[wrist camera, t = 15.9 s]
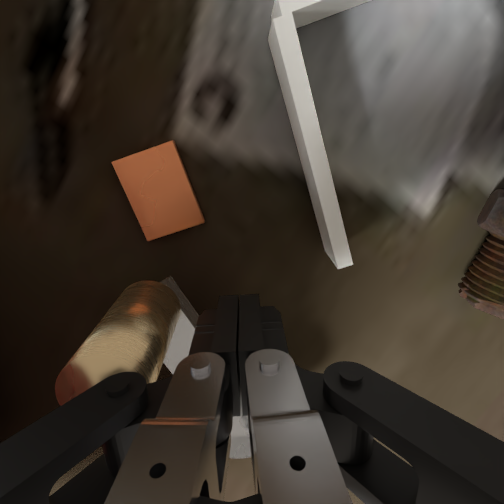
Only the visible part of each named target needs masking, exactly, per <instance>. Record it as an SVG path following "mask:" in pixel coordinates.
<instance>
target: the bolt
mask: <svg viewBox="0 0 504 504" xmlns="http://www.w3.org/2000/svg"><path fill="white" fill-rule="evenodd" d="M477 222H478V225H479V227H481V228H483V229H485V230H487V231H489V232H490V234H491V236H488V237H485V238H486V239H487V241H488V242H485V243H482V245H483V246H484V248H481V249H478V250H479V251H480V252H481V254H478V255H475V257H476V258H477V260H474V261H471V262H472V263H473V266H470V267H468V269H469V270H470V271H469V272H466V273H465V275H466V277H463V278H461V280H462V281H463V282H461V283H459V284H458V286H459V287H460V290H459V294H460V296H461V297H463V298H465V299H466V300H467V301H468V302H469V303H470V304H471V305H472V306H473V307H474V308H476V309H479V310H481V311H484V312H486V313H489V314H491V315H494V316H497V317H499V318H502V319H504V190H503V189H497V190H495V191H494V192H493V193H491V195H490V196H489V198H488V200H487V202H486V204H485V205H484V207H483V209H482V211H481V213H480V215H479V216H478V220H477Z"/></svg>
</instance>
